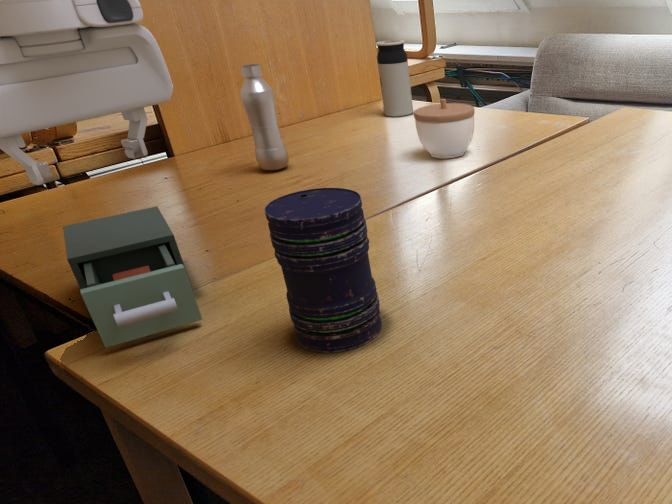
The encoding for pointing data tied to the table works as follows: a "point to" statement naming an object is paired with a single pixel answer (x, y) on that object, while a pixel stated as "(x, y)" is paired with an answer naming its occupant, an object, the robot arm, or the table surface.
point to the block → (131, 273)
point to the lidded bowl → (445, 128)
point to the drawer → (138, 295)
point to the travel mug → (394, 78)
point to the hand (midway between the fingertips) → (93, 169)
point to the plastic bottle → (263, 119)
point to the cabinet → (117, 238)
